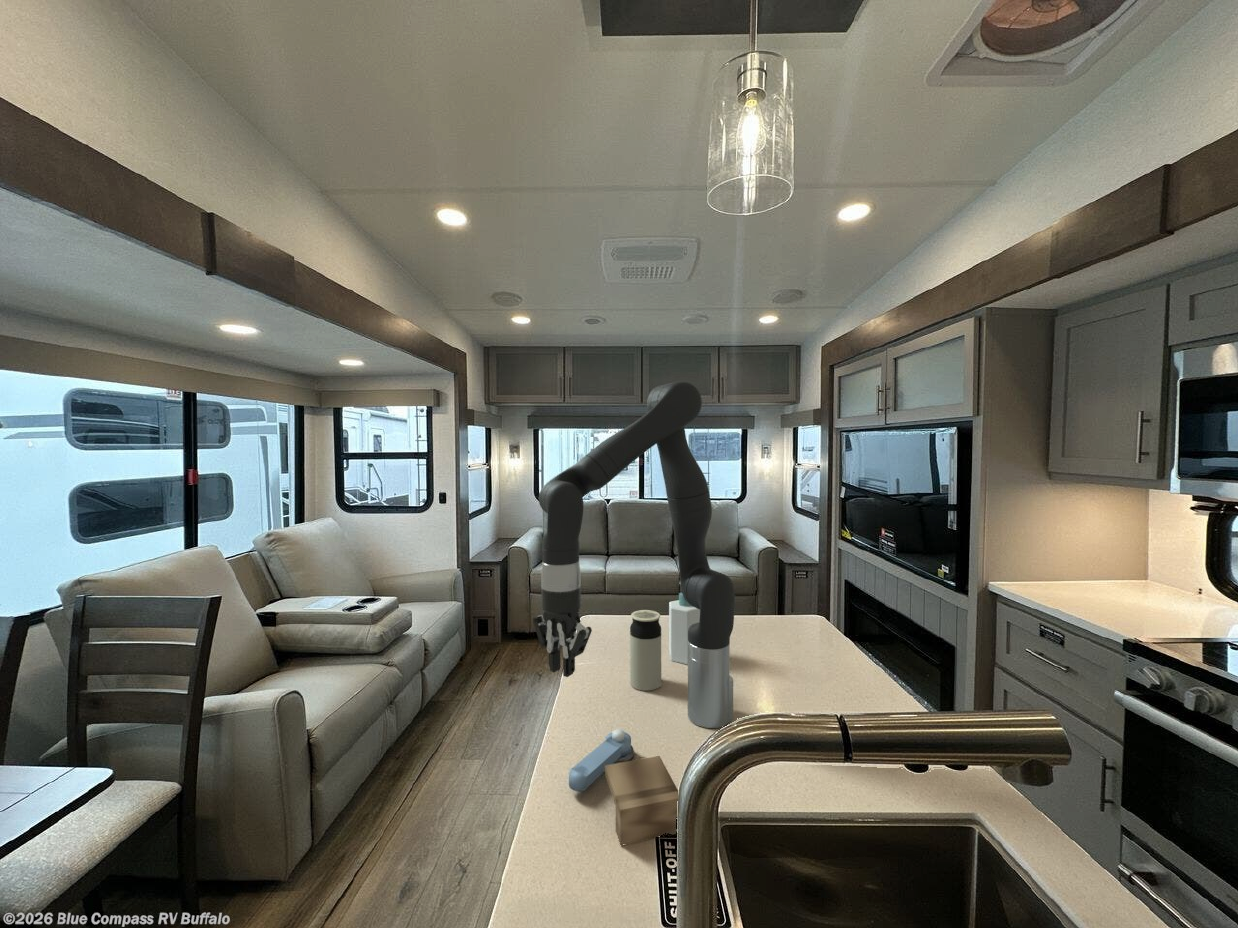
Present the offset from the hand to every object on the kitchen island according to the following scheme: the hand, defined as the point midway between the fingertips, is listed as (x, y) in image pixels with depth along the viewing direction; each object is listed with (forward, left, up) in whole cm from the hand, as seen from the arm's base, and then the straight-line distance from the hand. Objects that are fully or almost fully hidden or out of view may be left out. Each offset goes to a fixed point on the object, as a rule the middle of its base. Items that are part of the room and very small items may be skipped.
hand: (561, 672), depth 92 cm
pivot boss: (-11, +2, -17) cm, 20 cm away
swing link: (-6, +6, -16) cm, 18 cm away
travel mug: (-25, -24, -17) cm, 39 cm away
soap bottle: (-41, -36, -17) cm, 57 cm away
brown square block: (-11, +17, -17) cm, 27 cm away
